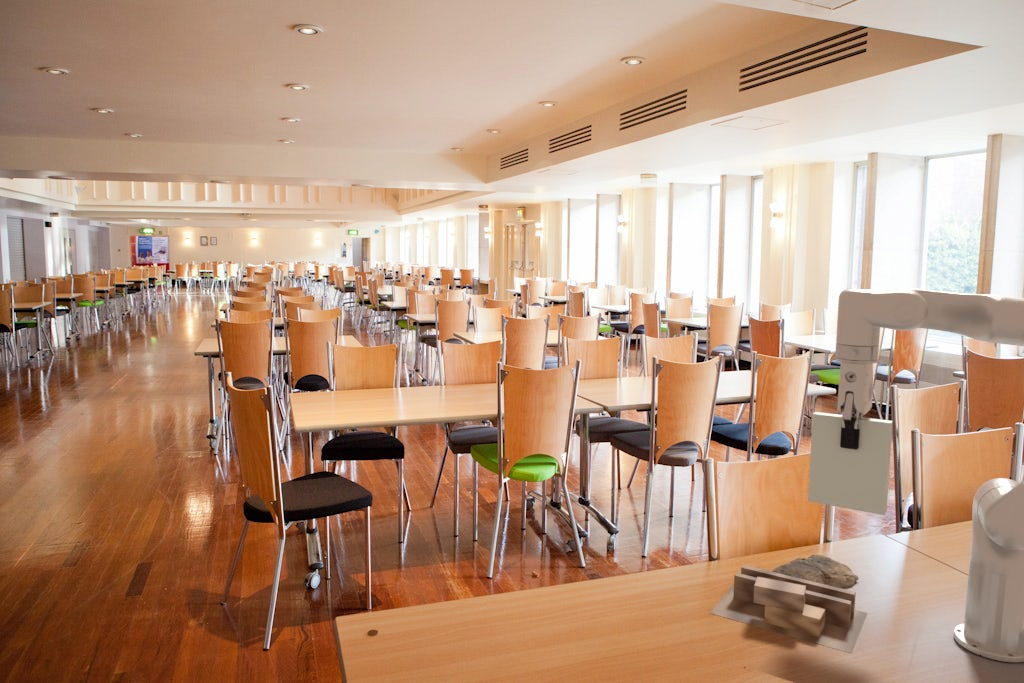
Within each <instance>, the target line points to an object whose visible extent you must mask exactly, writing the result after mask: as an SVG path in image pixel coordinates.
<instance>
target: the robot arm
mask: <svg viewBox="0 0 1024 683" xmlns="http://www.w3.org/2000/svg"><path fill="white" fill-rule="evenodd" d="M836 324H837V325H836V338H835V355H834V356H835V357H834V360H835V361H837V362H840V368H839V379H838V390H837V392H838V394H837V411H839V413H840V414H841V413H842V415H843V418H842V427H841V442H840V446H841V447H842V448H848V449H855V450H857V449H858V448H859V433H860V429H858V423H859V417H863V416H864V415H866V414H867V413H868V412H870V411H871V409H872V407H873V390H874V389H873V388H874V387H873V385H874V384H873V383H874V364H878V362H879V353H880V352H879V351H880V350H879V348H880V334H881V333H880V332H881V328H883V329H888V330H894V331H899V332H901V331H902V332H909V331H912V330H913V331H914V330H916V329H927V330H934V331H940V332H941V331H942V332H948V333H953V334H958V335H961V336H965V337H968V338H971V339H973V340H976V341H979V342H986V343H991V344H1000V345H1009V346H1010V345H1011V346H1018V347H1024V297H1016V296H1007V295H997V294H996V295H995V294H983V293H981V294H980V293H979V294H978V293H977V294H974V293H971V294H970V293H959V292H948V291H938V290H929V289H927V290H926V289H920V288H907V287H901V288H896V289H894V290H892V291H883V292H882V291H881V292H880V291H878V290H875V289H866V288H865V289H863V288H862V289H860V288H850V289H843V290H842V291H841V292H840V293H839V296H838V307H837V322H836ZM852 416H855V419H854V417H852ZM973 496H974V497H973V499H972V500H973V501H972V508H971V510H972V511H971V513H972V514H971V520H972V521H971V543H970V544H971V545H970V554H969V555H970V556H969V565H968V575H967V576H968V578H967V586H966V598H965V607H964V620H963V623H960V624H958V625H956V626H955V627H954V628H953V634H952V635H953V638H954V639H955V641H956V642H957V643H958V644H959V645H960V646H961V647H963V648H964V649H966V650H967V651H969V652H971V653H972V654H975V655H978V656H980V655H981V657H983V658H986V659H990V660H994V661H998V662H1004V663H1024V479H1023V480H1022V481H1021V482H1018V481H1017V480H1014V479H1010V478H1006V477H997V478H991V479H989V480H986V481H985V482H983V483H982V484H981V485H980V486H979V487H978V488H977V490H976V491H975V493H974V495H973Z"/></svg>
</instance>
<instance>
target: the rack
mask: <svg viewBox="0 0 1024 683" xmlns="http://www.w3.org/2000/svg"><path fill="white" fill-rule="evenodd" d="M757 577H762V578H768V579H773V580H778V581H783V582H789V583H794V584H799V585H805V586H806V592H805V604H808V605H812V606H816V607H820V608H824V609H826V610H825V625H824V628H823V630H822V632H821V634H820V636H819V637H816V636H812V635H809V634H805V633H801V632H798V631H794V630H791V629H787V628H783V627H780V626H776V625H773V624H769V623H766V622H764V616H765V605H763V604H758V603H753V601H754V585H755V582H756V579H757ZM733 578H734V580H733V584H732V586H730V588H729V589H728V590H727V591H726V592H725V594H724V595H723V596H722V597H721V599H720V600H719V601H718V602H717V603H716V604H715V606H714V607H713V608H712V609H711V610H710V611H709V614H711V615H714V616H718V617H720V618H721V617H722V618H724V619H727V620H732V621H736V622H738V623H739V622H740V623H742V624H747V625H749V626H753V627H755V628H756V627H757V628H760V629H763V630H767V631H771V632H775V633H778V634H782V635H785V636H789V637H792V638H796V639H799V640H802V641H806V642H810V643H814V644H817V645H820V646H823V647H826V648H830V649H834V650H837V651H841V652H844V653H848V654H852V652H853V651H854V650H853V649H854V648H855V645H856V644H857V640H858V638H859V635H860V632H861V631H862V630H861V629H862V628H863V625H864V622H865V620H866V619H867V615H868V612H865V611H861V610H857V609H855V608H856V591H853V590H848V589H846V588H842V587H841V588H837V587H833V586H829V585H825V584H821V583H817V582H812V581H808V580H804V579H800V578H796V577H792V576H787V575H783V574H779V573H775V572H772V570H771V571H769V570H766V569H762V568H759V567H758V568H757V567H754V566H750V565H745V564H743V565H742V566H741V569H740V573H739V572H736V573H735V574H734V577H733Z"/></svg>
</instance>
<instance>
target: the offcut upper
mask: <svg viewBox="0 0 1024 683" xmlns="http://www.w3.org/2000/svg"><path fill="white" fill-rule="evenodd" d="M805 592H806V586H805V585H799V584H794V583H789V582H783V581H778V580H773V579H768V578H762V577H757V579H756V582H755V585H754V601H753V603H758V604H763V605H768V606H772V607H777V608H782V609H787V610H792V611H797V612H802V613H803V610H804V605H805Z"/></svg>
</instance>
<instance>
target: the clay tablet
mask: <svg viewBox="0 0 1024 683" xmlns="http://www.w3.org/2000/svg"><path fill="white" fill-rule="evenodd" d="M771 572H775V573H779V574H783V575H787V576H792V577H796V578H800V579H804V580H808V581H812V582H817V583H821V584H825V585H829V586H833V587H837V588H841V589H842V588H847V587H851V586H853V585H854V584H855V583H857V581H858V580H860V579H859V576H858V575H856V574H855V573H854V572H853V570H852V569H851V568H850V567H849V565H846V564H844V563H840V562H838V561H836V560H835V559H832V558H831V557H828V556H825V555H821V554H811V555H810V556H809V557H808V558H801V557H798V558H795V559H793V560H791V561H789V562H787V563H784V564H782V565H779V566H776V567H775V568H774V569H772V570H771Z"/></svg>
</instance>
